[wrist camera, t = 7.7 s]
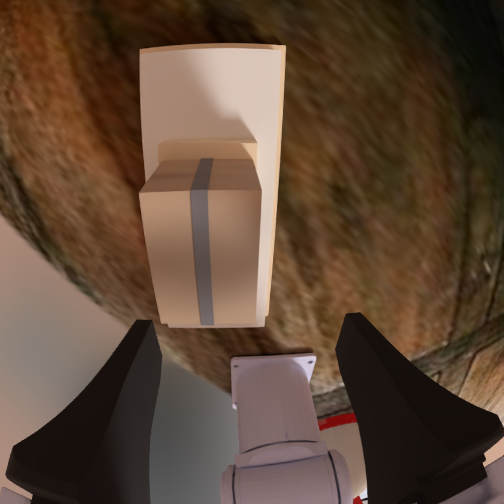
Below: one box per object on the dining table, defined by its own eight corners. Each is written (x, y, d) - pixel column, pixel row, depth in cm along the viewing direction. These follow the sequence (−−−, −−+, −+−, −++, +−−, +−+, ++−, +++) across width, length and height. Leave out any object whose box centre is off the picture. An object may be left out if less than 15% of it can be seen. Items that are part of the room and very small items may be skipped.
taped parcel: (250, 268, 19) (259, 335, 14) (174, 269, 19) (159, 335, 14) (255, 138, 15) (268, 168, 10) (162, 140, 15) (131, 172, 10)
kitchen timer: (317, 455, 45) (330, 527, 32) (269, 440, 39) (280, 531, 26) (387, 423, 41) (411, 499, 28) (353, 403, 35) (382, 504, 22)
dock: (283, 46, 14) (291, 42, 12) (267, 310, 24) (270, 331, 22) (142, 50, 14) (130, 46, 12) (167, 311, 24) (163, 332, 22)
